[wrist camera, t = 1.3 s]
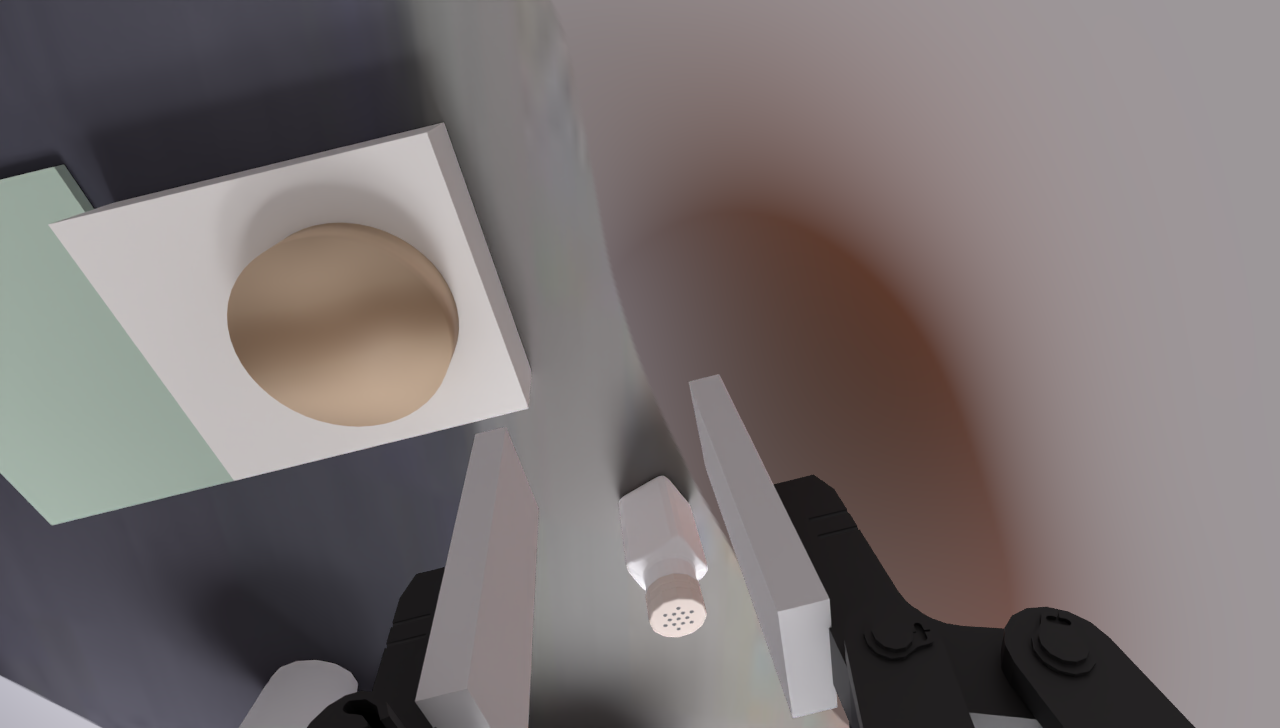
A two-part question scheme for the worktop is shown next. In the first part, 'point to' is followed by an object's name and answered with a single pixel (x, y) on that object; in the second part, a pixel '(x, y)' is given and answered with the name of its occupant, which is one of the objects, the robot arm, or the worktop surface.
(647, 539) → the pepper shaker
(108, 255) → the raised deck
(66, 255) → the rubber mat
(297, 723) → the foam cup
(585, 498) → the worktop surface
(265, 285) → the tan flat disc
